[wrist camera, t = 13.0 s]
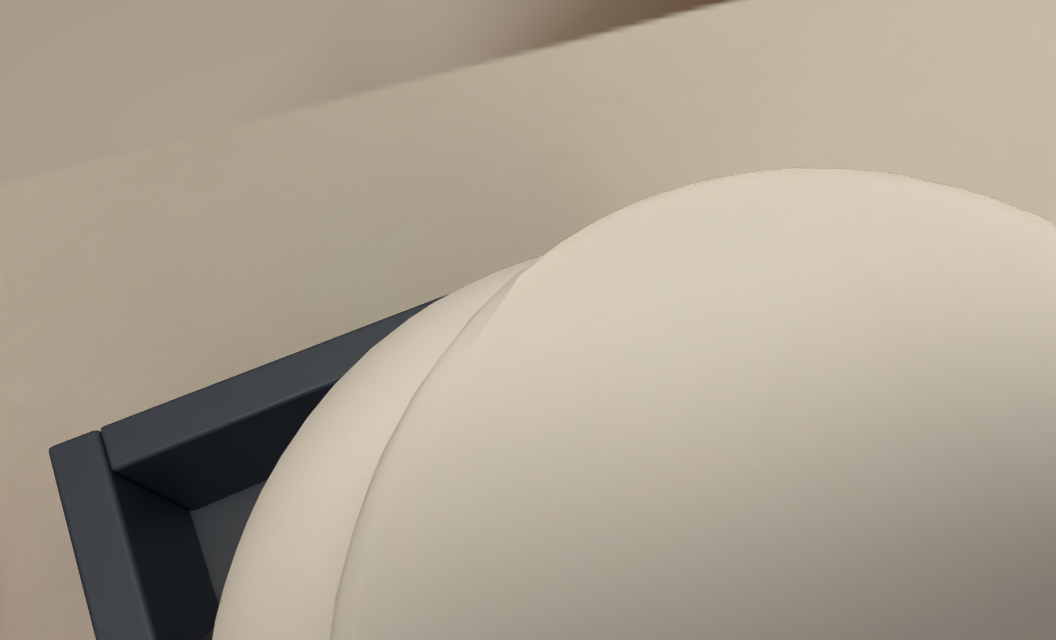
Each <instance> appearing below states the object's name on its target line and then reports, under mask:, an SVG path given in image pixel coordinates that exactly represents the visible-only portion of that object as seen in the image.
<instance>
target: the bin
mask: <svg viewBox="0 0 1056 640" xmlns="http://www.w3.org/2000/svg"><path fill="white" fill-rule="evenodd" d="M448 295H449V294H448ZM445 296H447V295H445ZM445 296H443V297H445ZM443 297H440V298H438V299H435V300H432V301H430V302H427V303H424V304H422V305H419V306H417V307H414V308H411V309H409V310H406V311H404V312H401V313H398V314H396V315H393V316H391V317H388V318H385V319H383V320H380V321H378V322H375V323H372V324H370V325H367V326H364V327H362V328H359V329H357V330H354V331H351V332H349V333H346V334H344V335H341V336H338V337H336V338H333V339H331V340H328V341H325V342H323V343H320V344H317V345H315V346H312V347H310V348H307V349H304V350H302V351H299V352H297V353H294V354H291V355H289V356H286V357H284V358H281V359H278V360H276V361H273V362H271V363H268V364H265V365H263V366H260V367H257V368H255V369H252V370H250V371H247V372H244V373H242V374H239V375H237V376H234V377H231V378H229V379H226V380H224V381H221V382H218V383H216V384H213V385H211V386H208V387H205V388H203V389H200V390H197V391H195V392H192V393H190V394H187V395H184V396H182V397H179V398H177V399H174V400H171V401H169V402H166V403H164V404H161V405H158V406H156V407H153V408H151V409H148V410H145V411H143V412H140V413H137V414H135V415H132V416H130V417H127V418H124V419H122V420H119V421H117V422H114V423H111V424H109V425H106V426H104V427H102V428H101V432H100V431H91V432H89V433H86V434H84V435H81V436H78V437H76V438H73V439H71V440H68V441H65V442H63V443H60V444H58V445H55V446H52V447H51V448H50V449H49V455H50V459H51V463H52V467H53V471H54V475H55V479H56V483H57V487H58V491H59V495H60V499H61V503H62V507H63V511H64V514H65V518H66V522H67V526H68V530H69V534H70V538H71V542H72V546H73V550H74V554H75V558H76V562H77V566H78V570H79V574H80V578H81V582H82V586H83V590H84V594H85V597H86V601H87V605H88V609H89V613H90V617H91V621H92V625H93V629H94V633H95V637H96V640H203V639H204V638H205V636H206V635H207V634H208V633H209V632H210V631H211V630H212V629H214V625H215V620H216V616H217V612H218V608H219V604H220V600H221V596H222V593H223V589H224V585H225V582H226V579H227V576H228V573H229V570H230V567H231V564H232V561H233V558H234V555H235V552H236V549H237V547H238V544H239V542H240V539H241V536H242V534H243V531H244V529H245V526H246V524H247V521H248V519H249V517H250V515H251V512H252V510H253V508H254V506H255V504H256V502H257V499H258V497H259V495H260V493H261V491H262V489H263V487H264V486H265V484H266V482H267V480H268V478H269V477H270V475H271V473H272V471H273V470H274V468H275V466H276V464H277V463H278V461H279V459H280V457H281V456H282V454H283V453H284V451H285V450H286V448H287V447H288V445H289V444H290V442H291V441H292V440H293V438H294V437H295V435H296V434H297V432H298V431H299V429H300V428H301V426H302V425H303V423H304V422H305V420H306V419H307V417H308V416H309V415H310V414H311V412H312V411H313V410H314V409H315V408H316V406H317V405H318V404H319V403H320V402H321V400H322V399H323V398H324V397H325V395H326V394H327V393H328V392H329V391H330V389H331V388H332V387H333V386H334V385H335V384H336V383H337V382H338V381H339V380H340V379H341V378H342V377H343V376H344V375H345V374H346V373H347V372H348V371H349V370H350V369H351V368H352V367H353V366H354V365H355V364H356V363H357V362H358V361H359V360H360V359H361V358H362V357H363V356H364V355H365V354H366V353H367V352H368V351H369V350H370V349H371V348H372V347H373V346H375V345H376V344H377V343H379V342H380V341H381V340H382V339H384V338H385V337H386V336H388V335H389V334H390V333H391V332H393V331H394V330H395V329H397V328H398V327H399V326H400V325H402V324H403V323H404V322H406V321H407V320H408V319H409V318H411V317H413V316H414V315H416V314H417V313H419V312H420V311H422V310H423V309H425V308H426V307H428V306H429V305H431V304H432V303H434V302H436V301H438V300H439V299H441V298H443Z"/></svg>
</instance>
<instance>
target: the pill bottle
mask: <svg viewBox="0 0 1056 640" xmlns="http://www.w3.org/2000/svg"><path fill="white" fill-rule="evenodd" d="M212 640H1056V225H1055V224H1053V223H1050V222H1048V221H1046V220H1044V219H1041V218H1039V217H1037V216H1035V215H1033V214H1030V213H1028V212H1026V211H1023V210H1021V209H1019V208H1017V207H1014V206H1012V205H1010V204H1007V203H1004V202H1001V201H998V200H995V199H992V198H989V197H986V196H983V195H980V194H976V193H973V192H970V191H967V190H964V189H960V188H956V187H952V186H948V185H944V184H940V183H936V182H932V181H927V180H923V179H918V178H913V177H908V176H904V175H899V174H894V173H884V172H870V171H857V170H843V169H806V168H786V169H777V170H768V171H760V172H751V173H744V174H737V175H731V176H725V177H719V178H713V179H707V180H703V181H700V182H696V183H693V184H690V185H686V186H683V187H680V188H676V189H673V190H670V191H666V192H663V193H659V194H656V195H653V196H649V197H646V198H644V199H641V200H639V201H637V202H635V203H632V204H630V205H628V206H626V207H623V208H621V209H619V210H617V211H614V212H612V213H610V214H608V215H606V216H604V217H602V218H601V219H599V220H597V221H596V222H594V223H592V224H591V225H589V226H587V227H586V228H584V229H582V230H580V231H579V232H577V233H575V234H574V235H572V236H570V237H569V238H567V239H565V240H564V241H562V242H560V243H559V244H557V245H556V246H555V247H553V248H552V249H551V250H549V251H548V252H547V253H545V254H544V255H542V256H541V257H537V258H533V259H530V260H527V261H524V262H521V263H518V264H515V265H512V266H509V267H507V268H504V269H501V270H498V271H496V272H494V273H492V274H489V275H487V276H485V277H483V278H481V279H479V280H477V281H475V282H472V283H470V284H468V285H466V286H464V287H462V288H460V289H458V290H456V291H454V292H453V293H451V294H449V295H447V296H445V297H443V298H441V299H439V300H438V301H436V302H434V303H432V304H431V305H429V306H428V307H426V308H425V309H423V310H422V311H420V312H419V313H417V314H416V315H414V316H413V317H411V318H409V319H408V320H407V321H406V322H404V323H403V324H402V325H400V326H399V327H398V328H397V329H395V330H394V331H393V332H391V333H390V334H389V335H388V336H386V337H385V338H384V339H382V340H381V341H380V342H379V343H377V344H376V345H375V346H373V347H372V348H371V349H370V350H369V351H368V352H367V353H366V354H365V355H364V356H363V357H362V358H361V359H360V360H359V361H358V362H357V363H356V364H355V365H354V366H353V367H352V368H351V369H350V370H349V371H348V372H347V373H346V374H345V375H344V376H343V377H342V378H341V379H340V380H339V381H338V382H337V383H336V384H335V385H334V386H333V387H332V388H331V389H330V391H329V392H328V393H327V394H326V395H325V397H324V398H323V399H322V400H321V402H320V403H319V404H318V405H317V406H316V408H315V409H314V410H313V411H312V412H311V414H310V415H309V416H308V417H307V419H306V420H305V422H304V423H303V425H302V426H301V428H300V429H299V431H298V432H297V434H296V435H295V437H294V438H293V440H292V441H291V442H290V444H289V445H288V447H287V448H286V450H285V451H284V453H283V454H282V456H281V457H280V459H279V461H278V463H277V464H276V466H275V468H274V470H273V471H272V473H271V475H270V477H269V478H268V480H267V482H266V484H265V486H264V487H263V489H262V491H261V493H260V495H259V497H258V499H257V502H256V504H255V506H254V508H253V510H252V512H251V515H250V517H249V519H248V521H247V524H246V526H245V529H244V531H243V534H242V536H241V539H240V542H239V544H238V547H237V549H236V552H235V555H234V558H233V561H232V564H231V567H230V570H229V573H228V576H227V579H226V582H225V585H224V589H223V593H222V596H221V600H220V604H219V608H218V612H217V616H216V620H215V625H214V631H213V637H212Z"/></svg>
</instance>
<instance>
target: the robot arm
mask: <svg viewBox="0 0 1056 640" xmlns="http://www.w3.org/2000/svg"><path fill="white" fill-rule="evenodd" d="M213 631H214V629H212V630H211V631H210V632H209V633H208V634H207V635H206V636H205V638H204V639H203V640H212V637H213Z"/></svg>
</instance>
